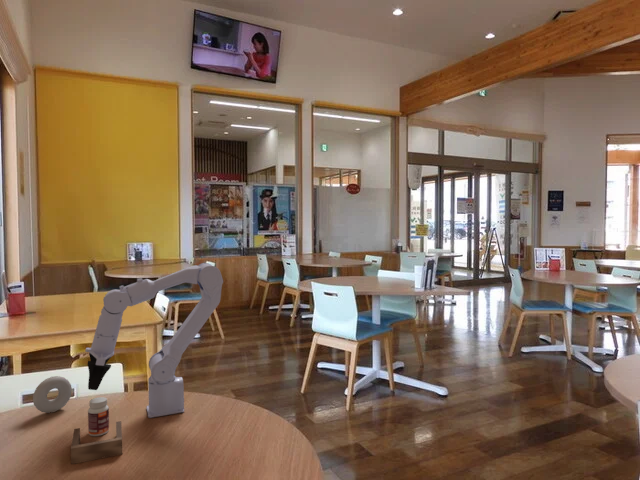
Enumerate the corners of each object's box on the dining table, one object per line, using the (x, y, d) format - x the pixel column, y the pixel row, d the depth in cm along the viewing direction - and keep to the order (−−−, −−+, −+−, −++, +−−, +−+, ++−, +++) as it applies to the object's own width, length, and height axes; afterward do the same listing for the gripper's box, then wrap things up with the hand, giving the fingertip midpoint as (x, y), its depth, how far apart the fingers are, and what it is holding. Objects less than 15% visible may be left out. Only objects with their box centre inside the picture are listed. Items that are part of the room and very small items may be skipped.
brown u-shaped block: (121, 434, 114) (121, 421, 114) (122, 454, 105) (122, 439, 105) (74, 443, 110) (74, 428, 110) (71, 464, 100) (70, 448, 100)
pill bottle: (100, 437, 113) (100, 404, 112) (84, 435, 114) (83, 402, 113) (113, 429, 117) (112, 397, 117) (97, 427, 118) (96, 395, 118)
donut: (36, 419, 123) (35, 383, 122) (31, 416, 125) (30, 380, 124) (74, 407, 131) (73, 373, 130) (69, 404, 133) (68, 370, 132)
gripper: (91, 326, 127) (78, 374, 126) (89, 338, 113) (74, 392, 113) (118, 330, 130) (105, 377, 129) (119, 342, 116) (105, 395, 115)
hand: (93, 384), depth 121 cm, fingers open, 7 cm apart
